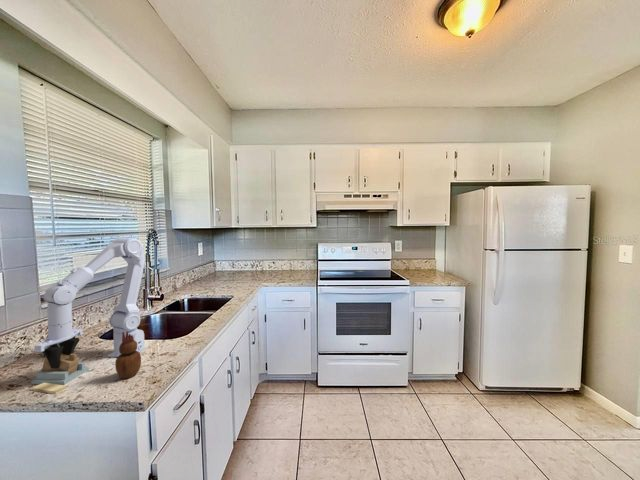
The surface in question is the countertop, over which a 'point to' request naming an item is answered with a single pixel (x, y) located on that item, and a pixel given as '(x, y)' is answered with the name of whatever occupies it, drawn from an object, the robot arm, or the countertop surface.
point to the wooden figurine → (128, 357)
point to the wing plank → (49, 388)
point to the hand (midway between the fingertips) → (61, 364)
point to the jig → (59, 375)
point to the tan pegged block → (63, 364)
